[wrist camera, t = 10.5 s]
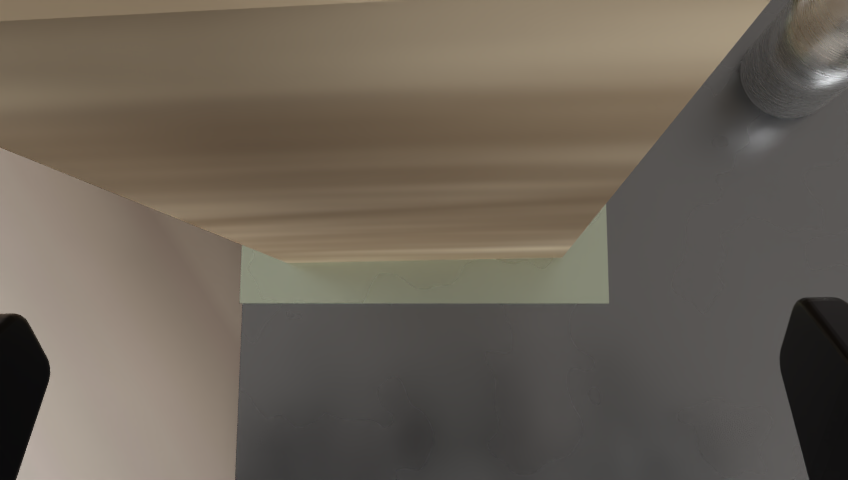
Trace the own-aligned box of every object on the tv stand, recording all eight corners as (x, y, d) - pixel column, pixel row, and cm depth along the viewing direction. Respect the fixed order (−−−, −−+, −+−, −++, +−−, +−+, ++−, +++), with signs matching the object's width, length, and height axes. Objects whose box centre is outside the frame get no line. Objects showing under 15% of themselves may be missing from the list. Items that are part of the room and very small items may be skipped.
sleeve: (562, 257, 16) (787, -19, 4) (287, 263, 16) (-278, 35, 4) (552, -7, 16) (710, -913, 5) (291, 7, 17) (-166, -773, 5)
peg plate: (1000, 693, 15) (1282, 887, 10) (250, 659, 17) (133, 811, 11) (924, -67, 18) (1118, -251, 12) (276, -39, 19) (189, -192, 14)
